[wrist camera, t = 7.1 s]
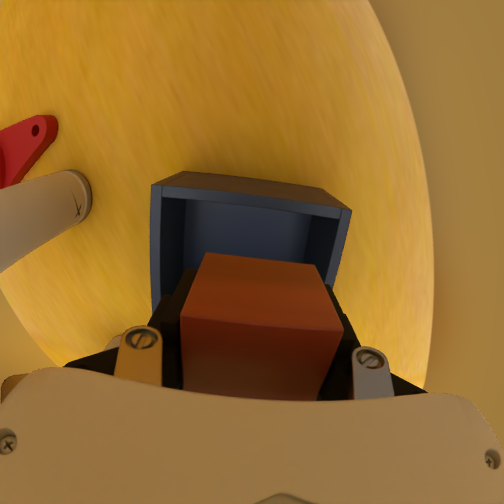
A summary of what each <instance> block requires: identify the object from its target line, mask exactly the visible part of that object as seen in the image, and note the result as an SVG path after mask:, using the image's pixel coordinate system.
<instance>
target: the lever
mask: <svg viewBox="0 0 504 504" xmlns="http://www.w3.org/2000/svg"><path fill="white" fill-rule="evenodd" d="M57 132H58V122H57V120H56V118H55V117H54V116H52V115H36V116H33V117H31V118H28V119H26V120H23V121H21V122H19V123H17V124H14V125H12V126H10V127H8V128H6V129H3V130H1V131H0V190H1V189H3V188H6V187H9V186H12V185H16V184H19V183H20V181H21V180H22V178H23V177H24V176H25V175H26V173H27V172H28V171H29V169H30V168H31V167H32V166H33V164H34V163H35V162H36V161H37V159H38V158H39V157H40V156H41V155H42V153H43V152H44V151H45V150H46V149H47V148H48V146H49V145H50V144H51V143H52V142H53V141H54V139H55V137H56V135H57Z"/></svg>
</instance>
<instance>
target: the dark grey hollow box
mask: <svg viewBox="0 0 504 504" xmlns="http://www.w3.org/2000/svg"><path fill="white" fill-rule="evenodd" d="M351 214H352V210H351V209H350V208H348V207H347V206H346V205H344V204H343V203H341V202H340V201H339V200H337V199H336V198H334V197H333V196H332V195H330V194H329V193H327V192H326V191H325V190H323V189H320V188H314V187H308V186H302V185H296V184H290V183H283V182H276V181H269V180H262V179H254V178H246V177H238V176H229V175H220V174H210V173H200V172H188V171H182V172H179V173H177V174H175V175H172V176H170V177H168V178H165V179H163V180H161V181H159V182H156V183H154V184H152V185H151V206H150V276H151V299H152V315H153V313H154V311H155V309H156V307H157V306H158V304H159V302H160V300H161V298H162V296H163V295H171V296H173V294H174V292H175V290H176V288H177V286H178V284H179V282H180V280H181V278H182V276H183V274H184V272H185V270H186V268H189V269H197V270H198V269H199V267H200V265H201V262H202V260H203V258H204V255H205V253H206V252H209V253H217V254H226V255H234V256H243V257H251V258H260V259H268V260H277V261H285V262H294V263H303V264H311V265H315V267H316V269H317V271H318V273H319V275H320V277H321V279H322V282H323V284H329V285H330V287H331V289H333V286H334V282H335V278H336V275H337V271H338V267H339V264H340V260H341V256H342V252H343V248H344V244H345V240H346V236H347V231H348V227H349V223H350V218H351Z"/></svg>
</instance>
